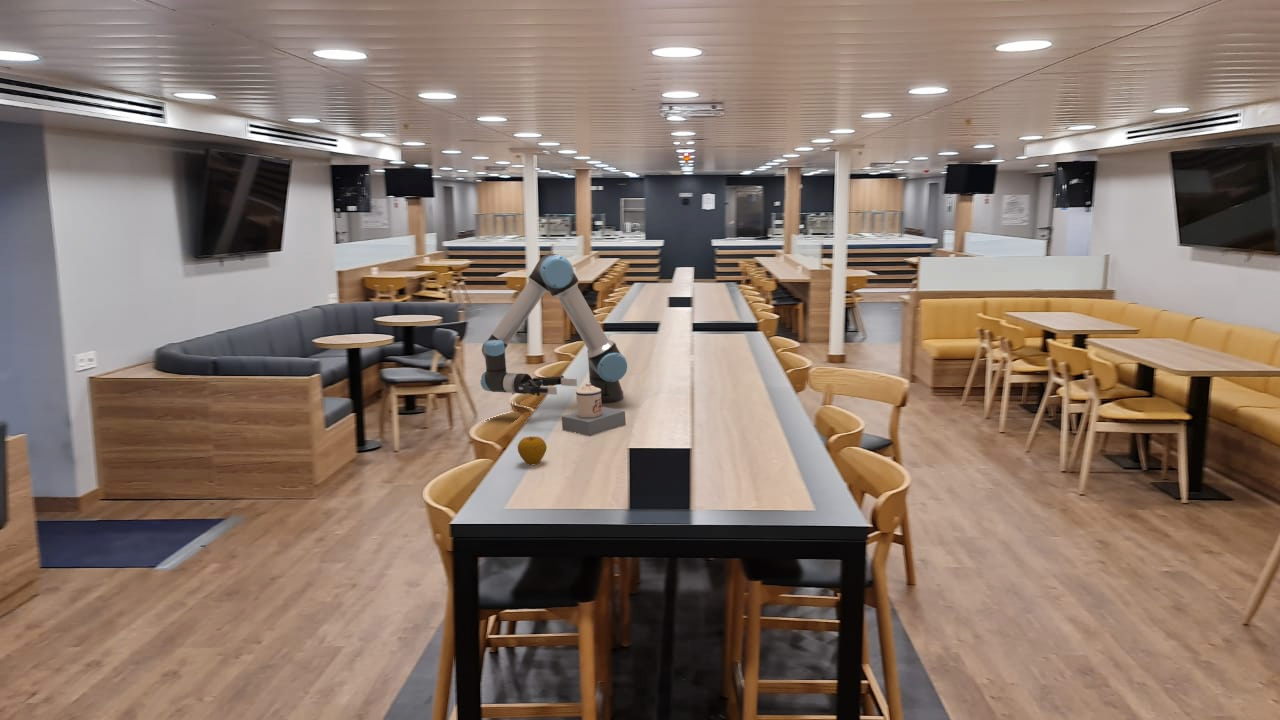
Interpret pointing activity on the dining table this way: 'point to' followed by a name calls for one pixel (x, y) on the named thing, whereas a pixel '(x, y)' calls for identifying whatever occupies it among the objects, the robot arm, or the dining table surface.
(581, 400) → the teacup with lid
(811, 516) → the dining table surface
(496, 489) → the dining table surface
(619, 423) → the charcoal rectangular block
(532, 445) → the apple
